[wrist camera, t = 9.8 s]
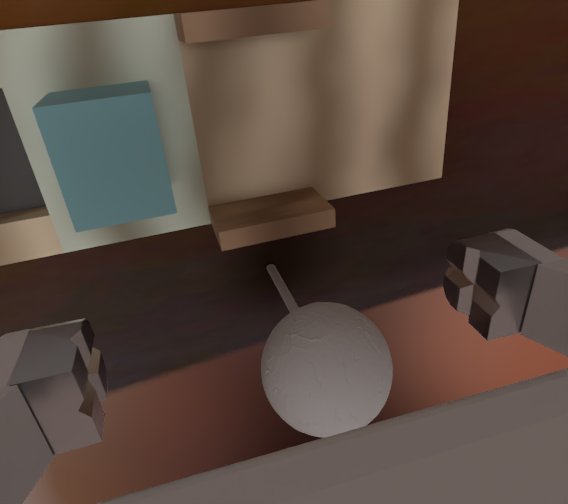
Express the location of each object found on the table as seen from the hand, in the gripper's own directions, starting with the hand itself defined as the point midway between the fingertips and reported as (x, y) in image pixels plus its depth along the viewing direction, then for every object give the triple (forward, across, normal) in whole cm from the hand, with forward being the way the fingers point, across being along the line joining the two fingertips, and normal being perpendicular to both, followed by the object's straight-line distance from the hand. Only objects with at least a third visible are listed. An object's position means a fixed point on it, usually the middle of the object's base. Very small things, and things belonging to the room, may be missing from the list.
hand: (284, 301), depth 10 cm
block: (+18, +5, 0) cm, 19 cm away
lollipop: (+21, -4, +12) cm, 24 cm away
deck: (+21, +1, 0) cm, 21 cm away
